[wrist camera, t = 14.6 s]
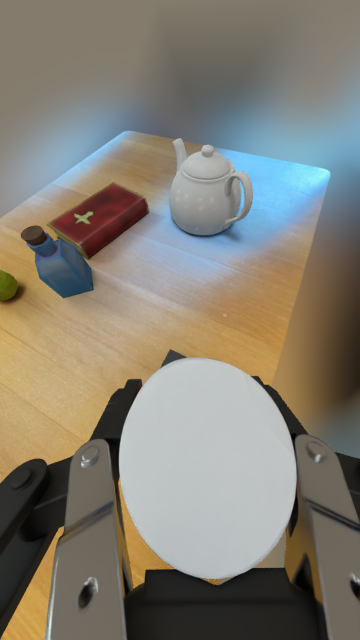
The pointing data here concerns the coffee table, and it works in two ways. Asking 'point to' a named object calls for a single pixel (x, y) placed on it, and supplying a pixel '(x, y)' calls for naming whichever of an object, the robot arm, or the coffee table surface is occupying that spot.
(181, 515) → the pill bottle
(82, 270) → the perfume bottle
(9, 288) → the fruit
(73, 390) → the coffee table surface
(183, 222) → the teapot
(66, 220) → the hardcover book
